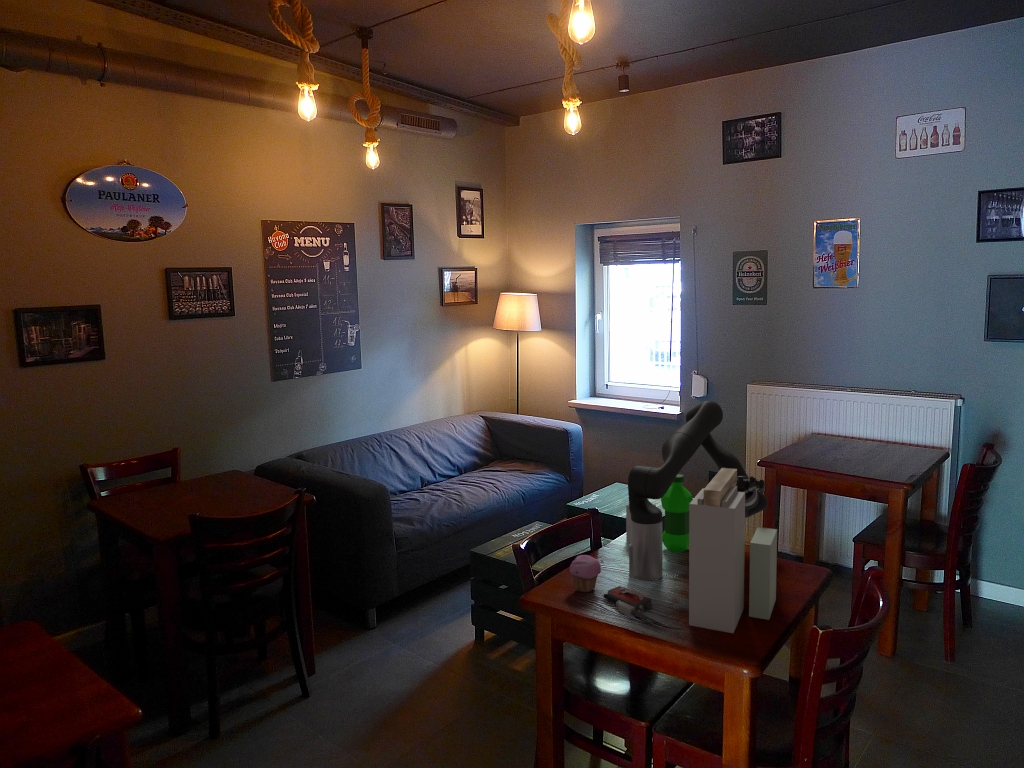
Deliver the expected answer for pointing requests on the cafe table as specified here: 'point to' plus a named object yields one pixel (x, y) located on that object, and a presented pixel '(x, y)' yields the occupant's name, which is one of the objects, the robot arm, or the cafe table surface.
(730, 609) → the grey stand
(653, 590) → the cafe table surface
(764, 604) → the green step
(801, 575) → the cafe table surface
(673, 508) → the plastic bottle
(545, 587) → the cafe table surface
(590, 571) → the cupcake
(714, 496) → the birch bar
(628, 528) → the small box
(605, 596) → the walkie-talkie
